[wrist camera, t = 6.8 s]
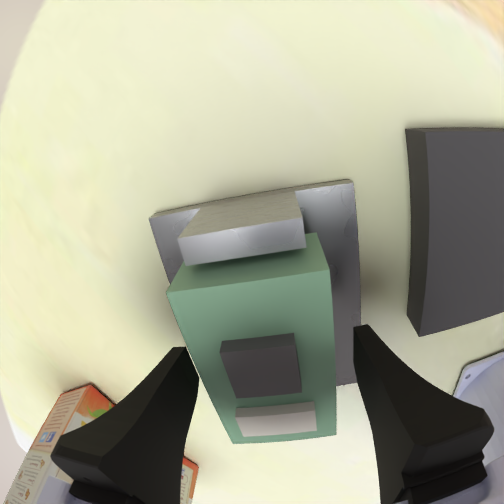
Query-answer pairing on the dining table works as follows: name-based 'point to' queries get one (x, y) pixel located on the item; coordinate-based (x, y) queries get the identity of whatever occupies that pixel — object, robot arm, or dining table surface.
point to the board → (263, 341)
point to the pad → (455, 226)
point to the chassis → (276, 242)
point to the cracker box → (63, 421)
